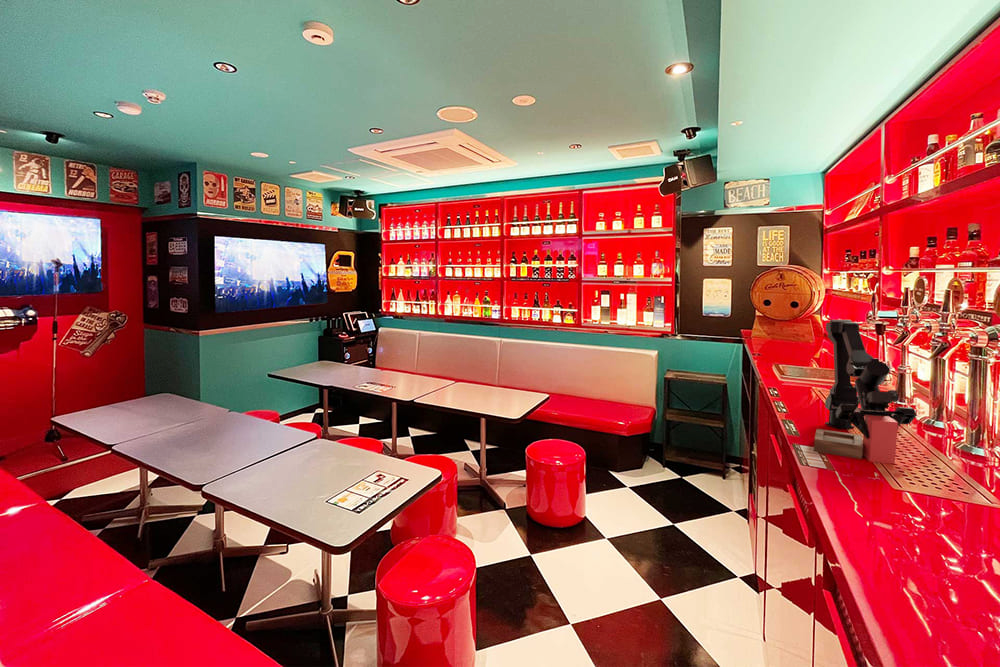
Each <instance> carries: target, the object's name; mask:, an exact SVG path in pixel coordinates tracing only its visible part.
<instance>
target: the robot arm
mask: <svg viewBox="0 0 1000 667" xmlns="http://www.w3.org/2000/svg"><path fill="white" fill-rule="evenodd" d="M859 324H860V323H858V322H855V321H852V320H851V319H830V320H829V322H826V324H825V331H826V332H827V337H828V339H829V340H830V342H832V346H833V363H834V364H833V366H834V367H833V368H834V370H833V371H834V372H833V374H834V384H833V385H832V386H831V388H829V394H828V395H827V397H826V399H825V401H824V407H825V408H826V409H827V410H829V415H828V421H825V422H824V424H825V425H827V426H830V427H834V428H836V429H839V430H841V429H842V430H843V429H854V428H856V429H857V430H858V431H859V432H860V433H861V434H862V436H863V435H864V436H865V437H866V438H867V439H868V438H869V432H868V429H867V426H866V423H865V415H875V416H889V417H891V418H892V419H894V420H895V421H897V422H898V427H899V426H901V425H909V424H911V423H912V422H913V420H914V419H915V418H916V417H917V416H918V415H917V411H916V409H914V408H913V407H907V406H906V407H905V406H904V407H903V406H897V407H896V408H895V410H894V411H893V410H886V409H888V408H889V406H890V405H889V404H893V402H894V403H895V402H898V401H899V399H900V397H899V394H898V391H897V390H893V389H889V390H887V391H881V390H880V385H882V384H883V383H884V381H885V380H886V378H887V376H888V375H889V373H890V371H891V370H890V369H891V368H890V366H888V365H887V364H886V363H884V362H882V361H880V359H879V358H878V357H877V358H876V357H873V356H872V355H871V354H869V353H868V352H867V351H866V347H865V345H864V342H863V339H862V335H861V333H860V325H859ZM851 377H853V378H856V379H855V381H854V386H853V384H852V383H851ZM859 404H860V407H859ZM898 431H899V428H898V429H897V432H898Z"/></svg>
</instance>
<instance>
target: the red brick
mask: <svg viewBox="0 0 1000 667" xmlns="http://www.w3.org/2000/svg"><path fill="white" fill-rule="evenodd" d="M864 420H865V423H866V426H867V429H868V432H869V438H868V439H867V438H866V437H865V436H864V435H863V434H862V443H863V450H862V457H864V458H866V460H867V461H868V462H871V463H882V464H883V463H884V464H891V463H892V464H891V465H893V464H894V465H895V464H896V463H895V461H896V451H897V450H896V449H897V441H898V440H897V438H898V437H897V436H898V431H897V429H898V430H899V426H898V422H897V421H895V420H894V419H892V418H891V417H889V416H875V415H865V416H864Z"/></svg>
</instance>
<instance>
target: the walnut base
mask: <svg viewBox="0 0 1000 667" xmlns="http://www.w3.org/2000/svg"><path fill="white" fill-rule="evenodd" d="M813 443H814V444H813V452H816V453H822V454H827V455H828V454H829V455H834V456H840V457H846V458H852V459H858V460H862V459H863V455H862V450H863V434H862V435H861V434H856V433H855V434H854V433H849V432H842V431H835V430H828V429H823V428H822V429H821V428H816V431H815V434H814V442H813Z"/></svg>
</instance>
